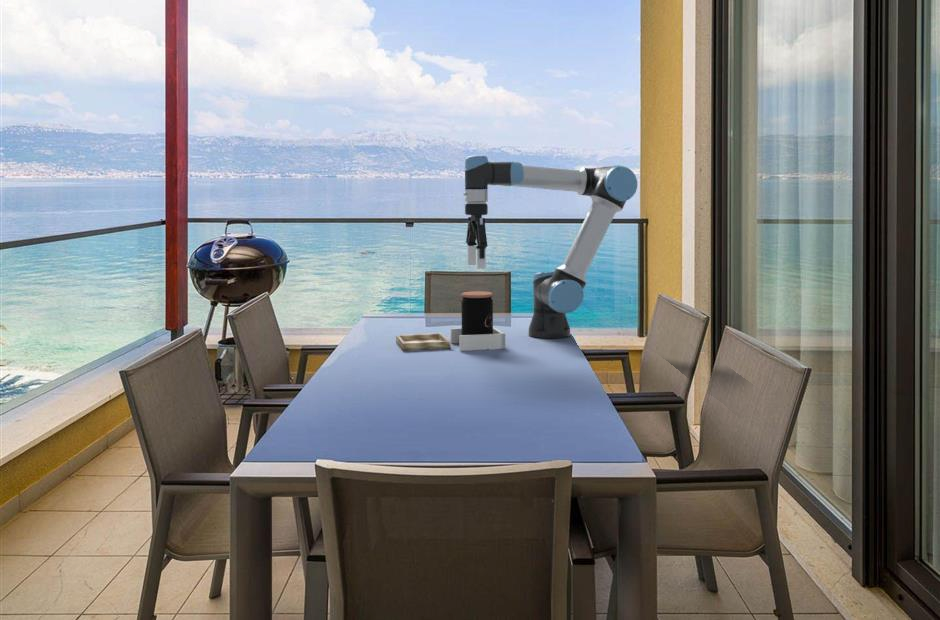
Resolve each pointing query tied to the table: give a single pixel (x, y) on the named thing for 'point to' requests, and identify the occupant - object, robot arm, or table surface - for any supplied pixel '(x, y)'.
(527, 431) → the table surface
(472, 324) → the coffee jar
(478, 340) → the frame
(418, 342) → the tray
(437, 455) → the table surface
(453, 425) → the table surface
